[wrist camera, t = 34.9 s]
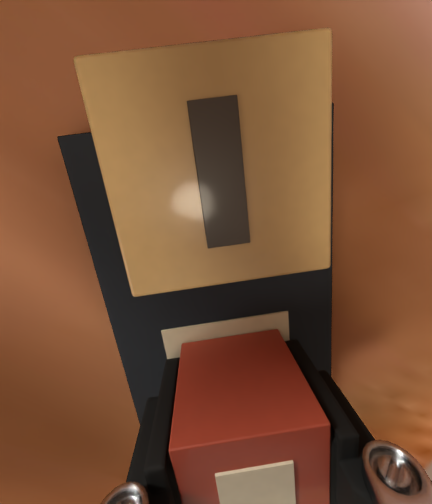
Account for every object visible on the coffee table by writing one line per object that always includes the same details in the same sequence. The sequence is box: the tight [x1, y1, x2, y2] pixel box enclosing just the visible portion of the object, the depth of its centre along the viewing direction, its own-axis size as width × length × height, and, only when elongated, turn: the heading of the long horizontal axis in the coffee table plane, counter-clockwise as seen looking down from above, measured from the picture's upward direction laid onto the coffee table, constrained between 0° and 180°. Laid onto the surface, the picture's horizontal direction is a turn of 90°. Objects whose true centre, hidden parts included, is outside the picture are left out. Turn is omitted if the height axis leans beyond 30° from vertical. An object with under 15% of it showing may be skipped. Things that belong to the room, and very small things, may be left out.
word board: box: [57, 103, 334, 425], centre depth 10 cm, size 9×23×1 cm, turn 7°
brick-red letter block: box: [169, 329, 331, 504], centre depth 8 cm, size 4×4×4 cm
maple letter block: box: [74, 28, 332, 297], centre depth 6 cm, size 4×4×4 cm
